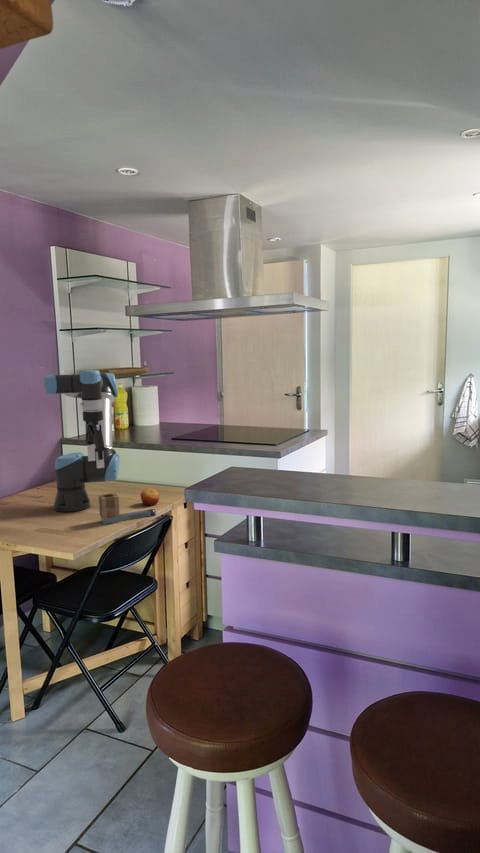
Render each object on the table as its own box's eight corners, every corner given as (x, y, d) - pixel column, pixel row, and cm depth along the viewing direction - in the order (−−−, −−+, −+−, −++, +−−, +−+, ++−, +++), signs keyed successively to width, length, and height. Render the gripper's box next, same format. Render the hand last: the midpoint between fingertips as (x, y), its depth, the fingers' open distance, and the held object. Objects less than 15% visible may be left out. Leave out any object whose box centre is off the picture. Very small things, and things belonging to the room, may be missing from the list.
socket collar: (99, 514, 214) (98, 495, 213) (115, 512, 217) (114, 492, 216) (103, 518, 208) (101, 498, 207) (119, 516, 211) (118, 496, 210)
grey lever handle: (100, 521, 214) (99, 504, 213) (153, 512, 223) (152, 496, 222) (103, 524, 209) (102, 507, 208) (157, 516, 218) (156, 499, 217)
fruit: (149, 496, 243) (154, 483, 239) (159, 508, 239) (164, 494, 235) (134, 500, 237) (139, 486, 233) (143, 512, 233) (148, 498, 229)
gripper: (75, 407, 216) (79, 459, 220) (90, 415, 195) (94, 472, 198) (94, 406, 220) (97, 456, 223) (111, 413, 198) (114, 469, 202)
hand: (96, 464), depth 211 cm, fingers open, 13 cm apart
